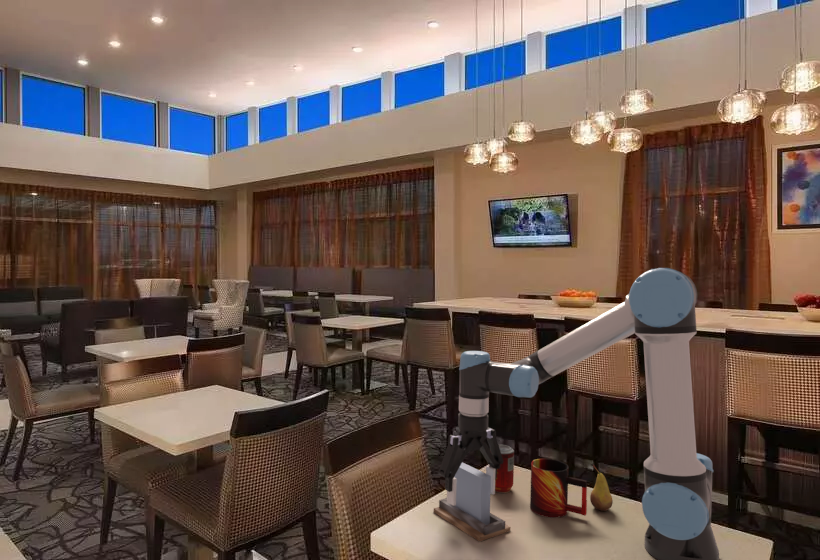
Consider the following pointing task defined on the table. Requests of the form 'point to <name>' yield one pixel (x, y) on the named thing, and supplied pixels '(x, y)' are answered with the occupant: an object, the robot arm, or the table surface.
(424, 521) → the table surface
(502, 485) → the soda can
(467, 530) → the track base
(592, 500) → the fruit
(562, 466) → the mug
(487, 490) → the door panel
